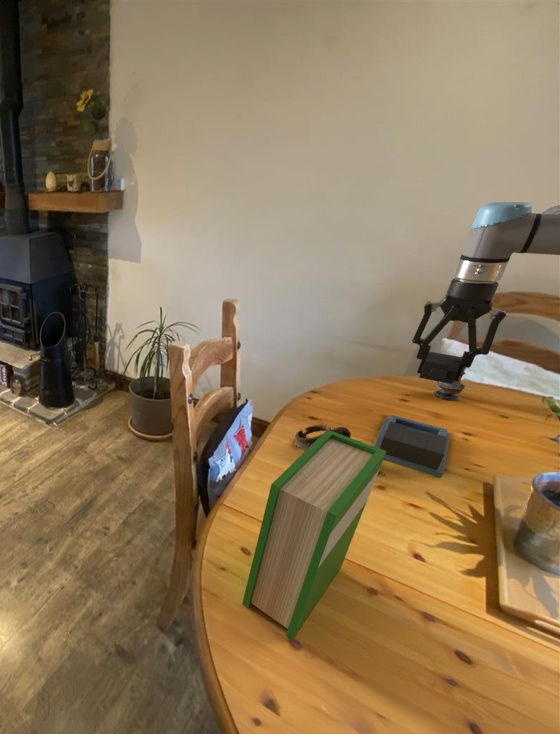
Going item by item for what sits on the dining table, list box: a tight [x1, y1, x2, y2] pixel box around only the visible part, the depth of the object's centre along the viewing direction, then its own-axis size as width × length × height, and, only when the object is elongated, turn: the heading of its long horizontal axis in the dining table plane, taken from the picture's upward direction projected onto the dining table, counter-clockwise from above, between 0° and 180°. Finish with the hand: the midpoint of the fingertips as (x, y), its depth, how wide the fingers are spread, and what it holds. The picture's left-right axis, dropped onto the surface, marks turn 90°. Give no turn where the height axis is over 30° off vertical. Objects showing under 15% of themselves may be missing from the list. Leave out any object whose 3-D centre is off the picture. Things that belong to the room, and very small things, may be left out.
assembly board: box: [374, 414, 451, 479], centre depth 94 cm, size 12×18×5 cm, turn 136°
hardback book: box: [241, 430, 386, 641], centre depth 61 cm, size 18×7×24 cm, turn 129°
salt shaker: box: [432, 355, 466, 402], centre depth 110 cm, size 6×6×12 cm
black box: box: [418, 351, 462, 384], centre depth 100 cm, size 6×8×4 cm
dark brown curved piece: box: [294, 423, 352, 452], centre depth 93 cm, size 12×10×8 cm
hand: (437, 374), depth 101 cm, fingers closed on black box, 6 cm apart
